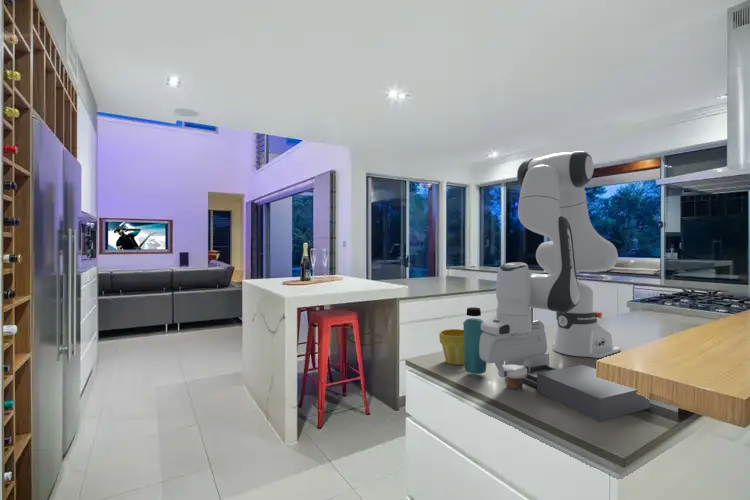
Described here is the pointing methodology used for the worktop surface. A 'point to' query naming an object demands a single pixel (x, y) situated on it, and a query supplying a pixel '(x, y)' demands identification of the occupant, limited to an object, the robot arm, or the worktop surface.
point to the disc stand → (514, 383)
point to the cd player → (590, 392)
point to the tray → (533, 367)
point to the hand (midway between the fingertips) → (514, 374)
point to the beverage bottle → (473, 343)
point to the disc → (515, 371)
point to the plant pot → (453, 345)
